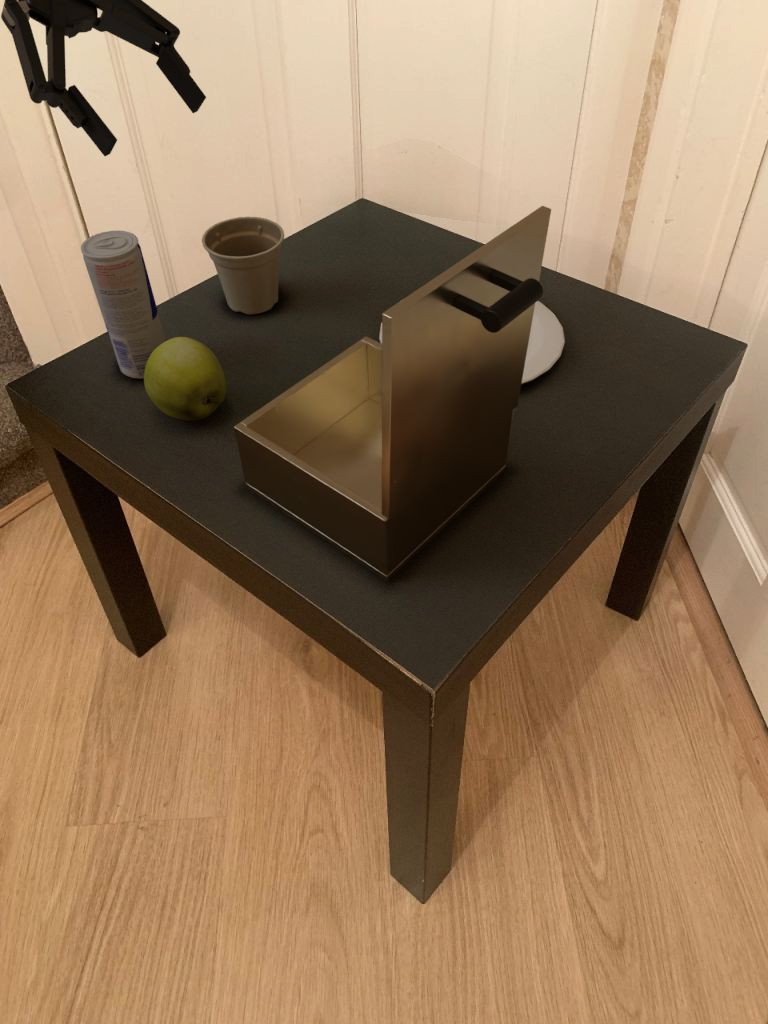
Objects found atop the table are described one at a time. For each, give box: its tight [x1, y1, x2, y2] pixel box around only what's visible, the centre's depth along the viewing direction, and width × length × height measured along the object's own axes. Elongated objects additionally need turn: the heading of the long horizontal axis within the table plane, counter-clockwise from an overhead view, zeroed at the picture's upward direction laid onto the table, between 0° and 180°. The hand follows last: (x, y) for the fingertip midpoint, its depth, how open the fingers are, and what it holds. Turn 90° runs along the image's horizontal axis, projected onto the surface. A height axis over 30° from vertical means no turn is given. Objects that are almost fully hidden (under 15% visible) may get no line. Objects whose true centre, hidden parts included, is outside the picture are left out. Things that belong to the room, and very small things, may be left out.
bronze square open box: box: [233, 336, 514, 582], centre depth 73 cm, size 18×18×8 cm
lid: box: [381, 205, 552, 519], centre depth 58 cm, size 18×18×5 cm
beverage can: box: [80, 230, 167, 380], centre depth 83 cm, size 6×6×15 cm
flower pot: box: [201, 216, 285, 315], centre depth 94 cm, size 9×9×9 cm
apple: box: [143, 336, 227, 421], centre depth 81 cm, size 8×9×8 cm
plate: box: [378, 299, 566, 386], centre depth 90 cm, size 21×21×2 cm
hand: (157, 126), depth 88 cm, fingers open, 13 cm apart
